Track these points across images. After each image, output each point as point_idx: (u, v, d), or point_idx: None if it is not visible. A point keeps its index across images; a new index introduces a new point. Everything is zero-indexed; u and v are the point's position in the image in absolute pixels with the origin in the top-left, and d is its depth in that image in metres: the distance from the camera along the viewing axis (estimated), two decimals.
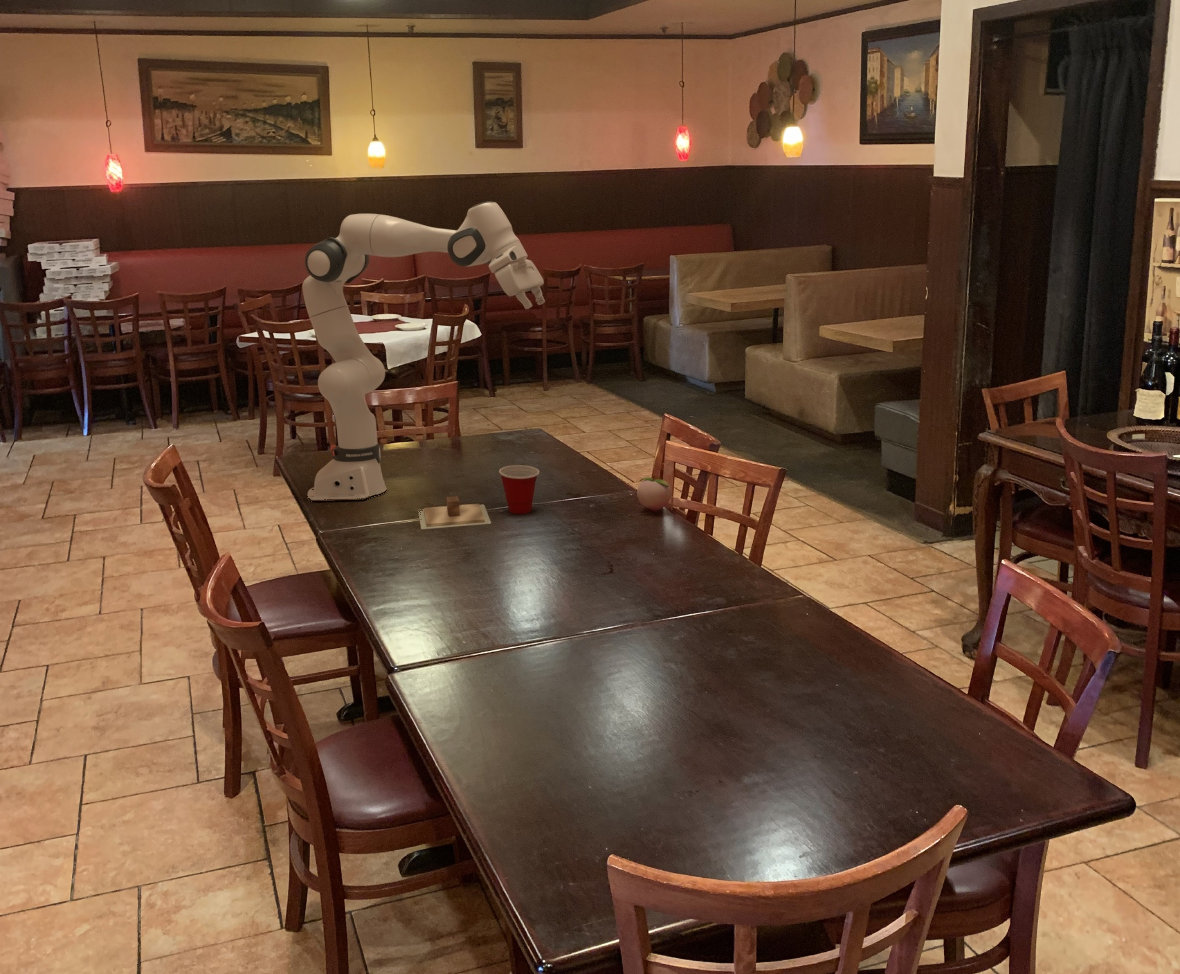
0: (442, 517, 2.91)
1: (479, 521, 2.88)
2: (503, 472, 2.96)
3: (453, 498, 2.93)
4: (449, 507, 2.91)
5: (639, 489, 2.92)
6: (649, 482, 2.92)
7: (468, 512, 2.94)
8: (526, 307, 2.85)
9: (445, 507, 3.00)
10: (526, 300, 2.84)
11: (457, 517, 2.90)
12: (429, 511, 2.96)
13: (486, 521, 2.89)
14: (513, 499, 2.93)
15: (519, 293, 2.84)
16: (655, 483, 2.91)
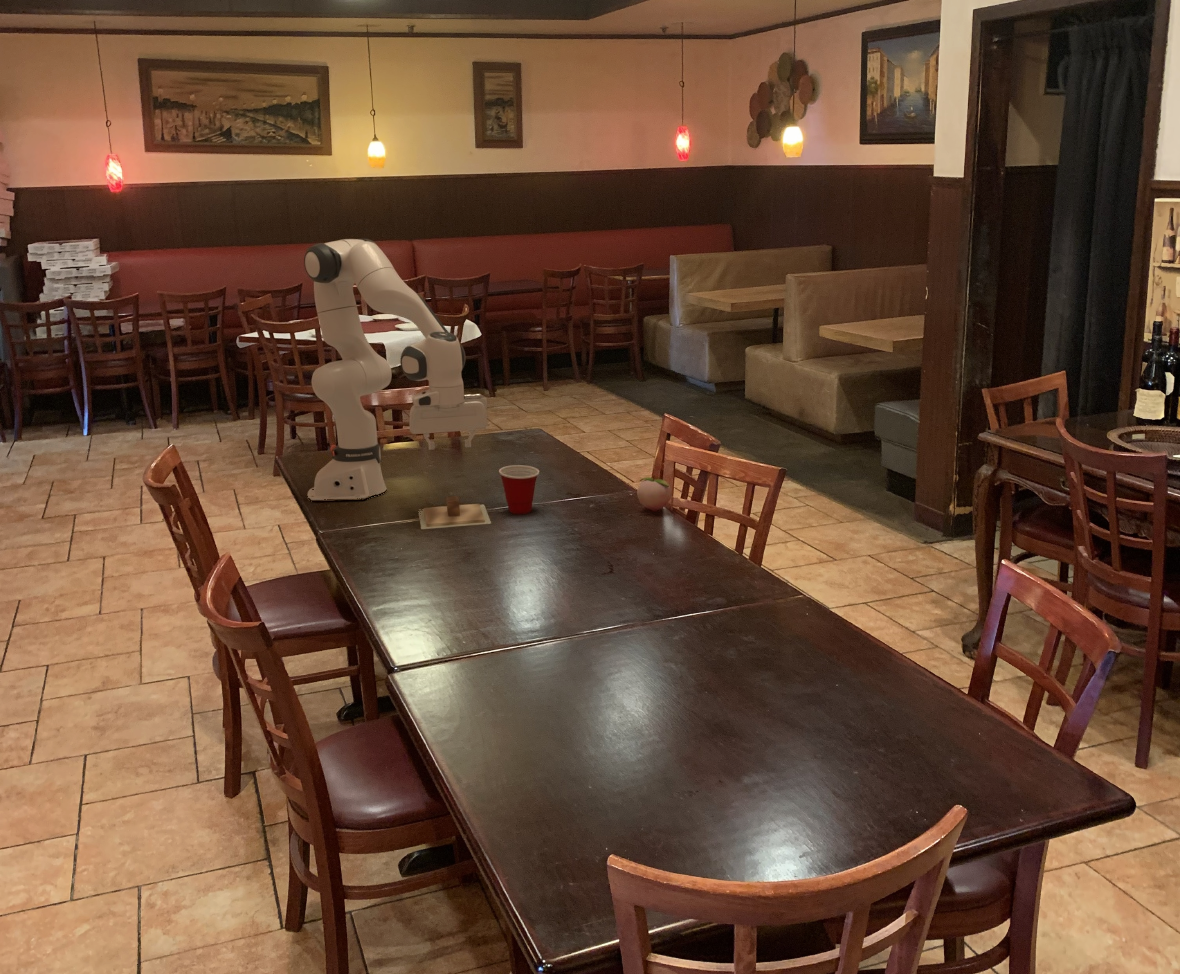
0: (442, 517, 2.91)
1: (479, 521, 2.88)
2: (503, 472, 2.96)
3: (453, 498, 2.93)
4: (449, 507, 2.91)
5: (639, 489, 2.92)
6: (649, 482, 2.92)
7: (468, 512, 2.94)
8: None
9: (445, 507, 3.00)
10: (428, 442, 2.87)
11: (457, 517, 2.90)
12: (429, 511, 2.96)
13: (486, 521, 2.89)
14: (513, 499, 2.93)
15: None
16: (655, 483, 2.91)
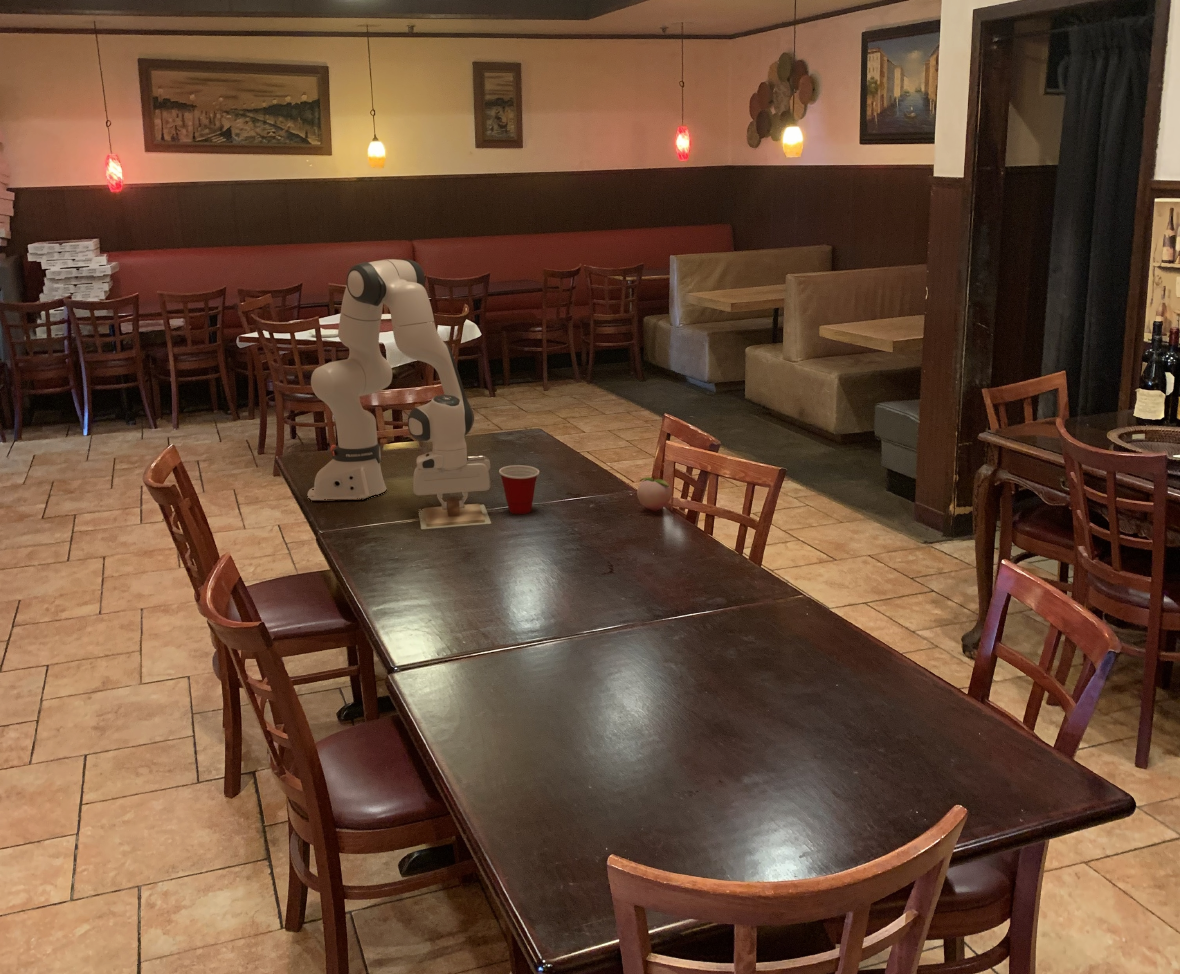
0: (442, 517, 2.91)
1: (479, 521, 2.88)
2: (503, 472, 2.96)
3: (453, 498, 2.93)
4: (449, 507, 2.91)
5: (639, 489, 2.92)
6: (649, 482, 2.92)
7: (468, 512, 2.94)
8: None
9: None
10: (441, 502, 2.92)
11: (457, 517, 2.90)
12: (429, 511, 2.96)
13: (486, 521, 2.89)
14: (513, 499, 2.93)
15: (437, 494, 2.91)
16: (655, 483, 2.91)
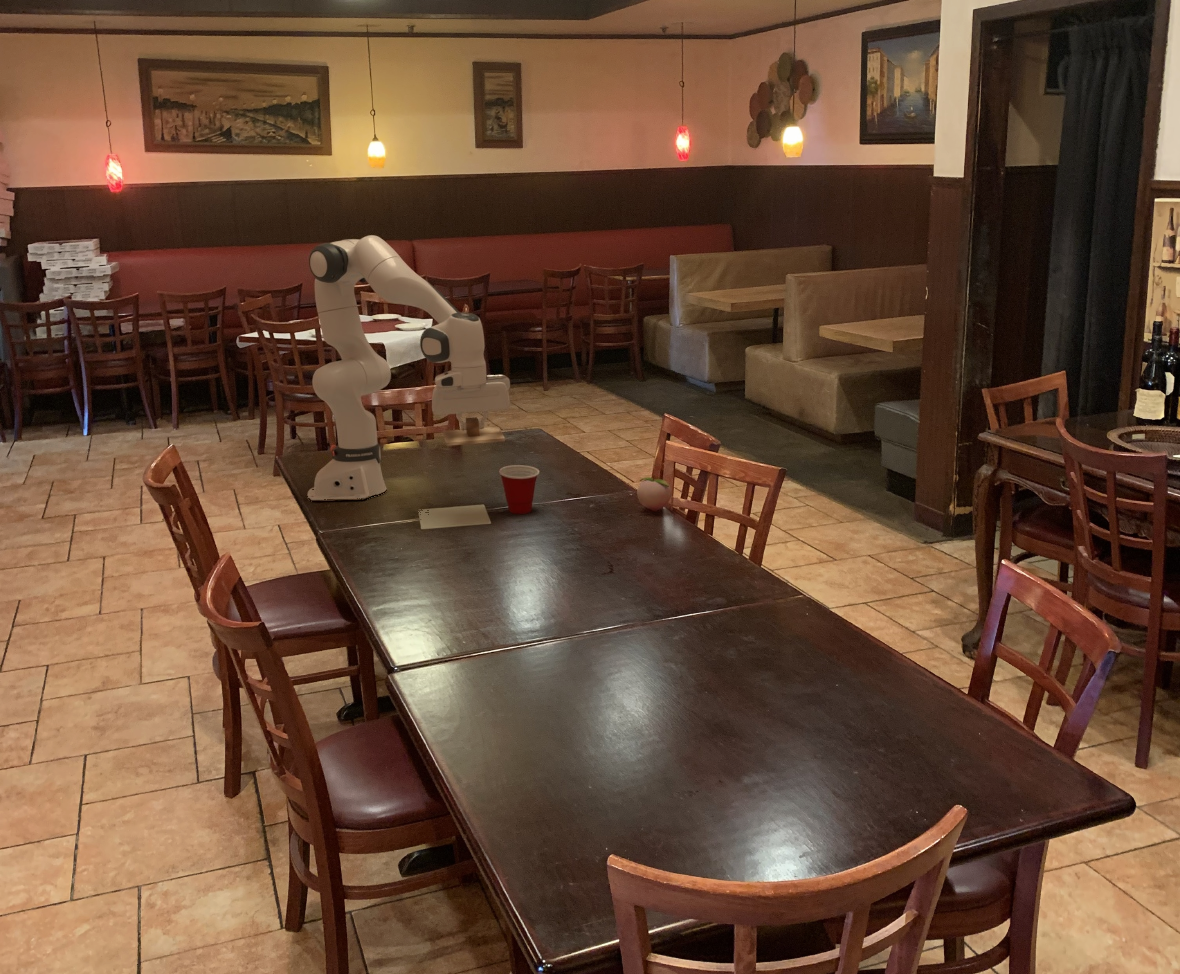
0: (461, 437, 2.86)
1: (499, 440, 2.83)
2: (503, 472, 2.96)
3: (472, 419, 2.88)
4: (468, 427, 2.86)
5: (639, 489, 2.92)
6: (649, 482, 2.92)
7: (488, 433, 2.89)
8: (461, 428, 2.88)
9: (464, 430, 2.95)
10: None
11: (477, 437, 2.85)
12: (449, 433, 2.91)
13: (486, 521, 2.89)
14: (513, 499, 2.93)
15: (456, 414, 2.87)
16: (655, 483, 2.91)
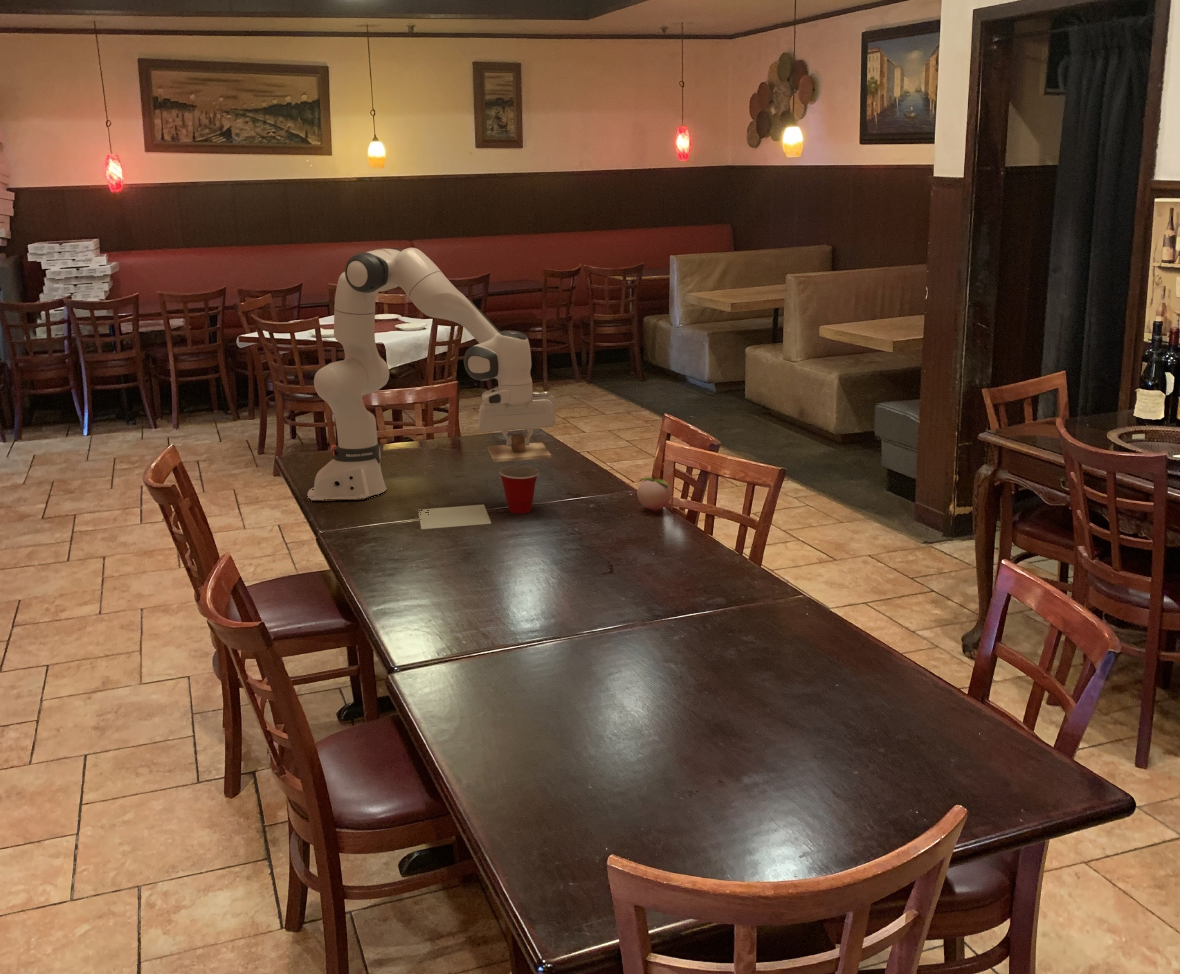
0: (508, 453, 2.90)
1: (545, 457, 2.87)
2: (503, 472, 2.96)
3: (518, 435, 2.92)
4: (515, 443, 2.90)
5: (639, 489, 2.92)
6: (649, 482, 2.92)
7: (533, 449, 2.93)
8: None
9: None
10: (506, 439, 2.91)
11: (523, 453, 2.89)
12: (494, 449, 2.95)
13: (486, 521, 2.89)
14: (513, 499, 2.93)
15: (502, 430, 2.90)
16: (655, 483, 2.91)
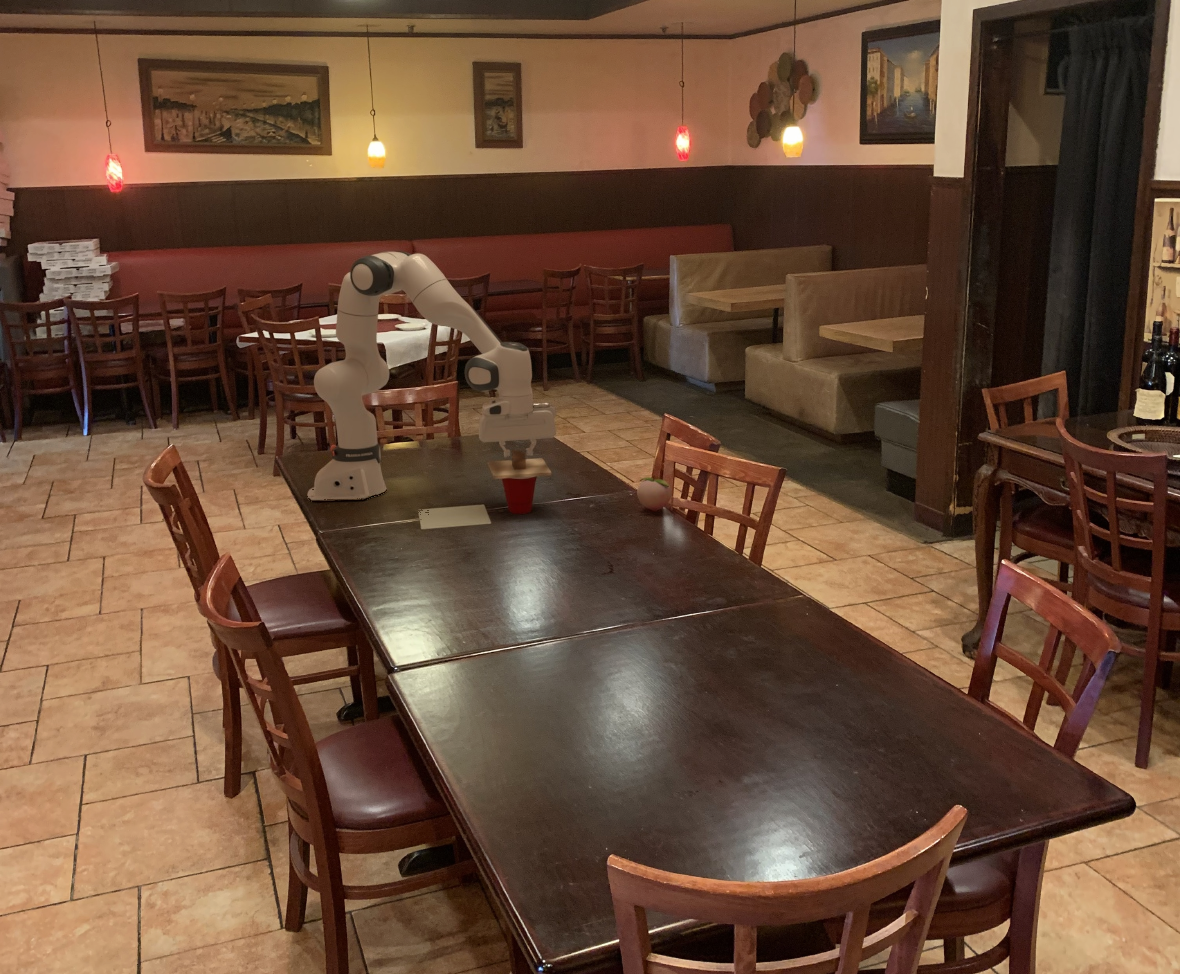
0: (508, 470, 2.91)
1: (546, 474, 2.88)
2: None
3: (519, 451, 2.93)
4: (515, 460, 2.91)
5: (639, 489, 2.92)
6: (649, 482, 2.92)
7: (533, 466, 2.95)
8: (504, 455, 2.93)
9: (509, 461, 3.00)
10: None
11: (523, 470, 2.90)
12: (494, 464, 2.96)
13: (486, 521, 2.89)
14: (513, 499, 2.93)
15: (499, 441, 2.91)
16: (655, 483, 2.91)
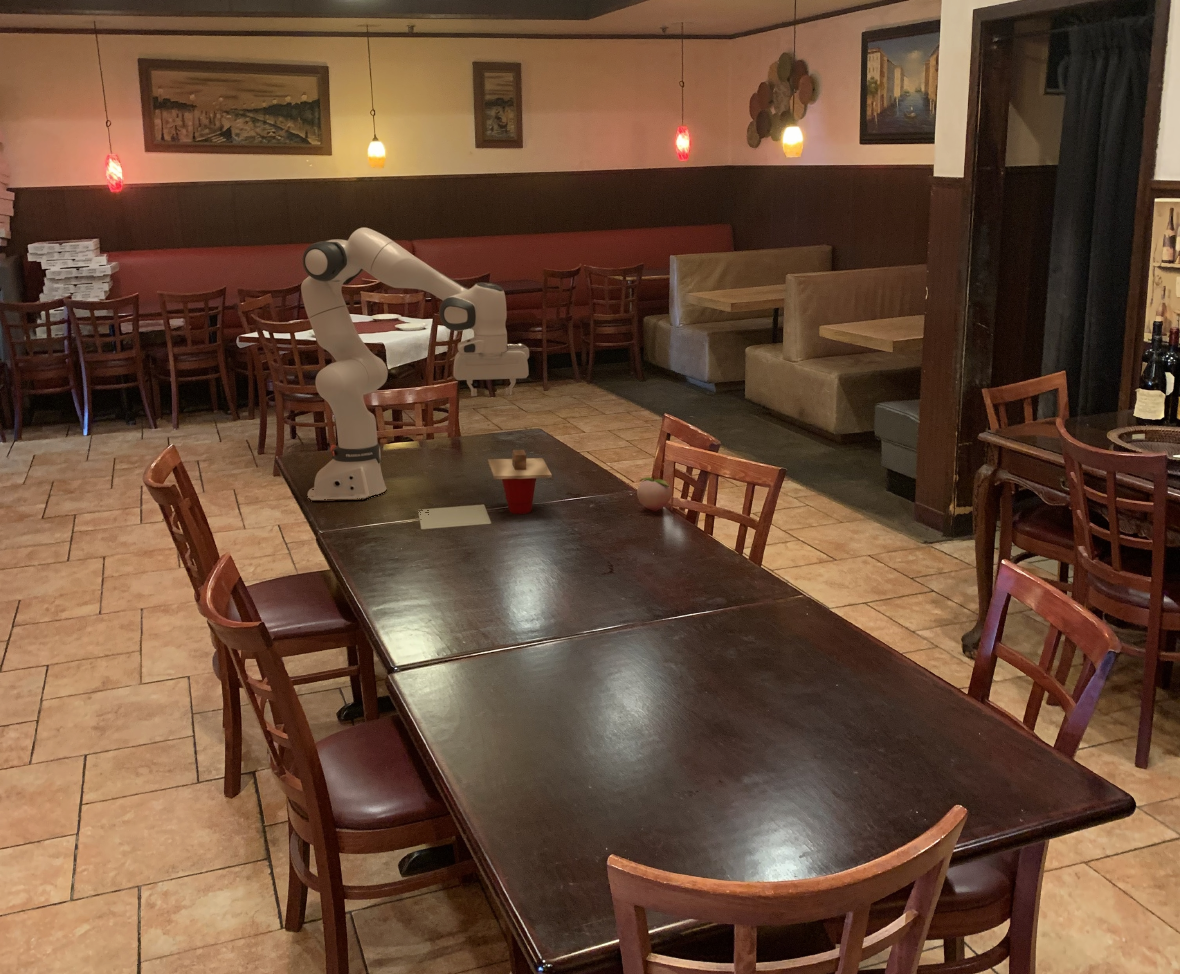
0: (508, 470, 2.91)
1: (546, 476, 2.88)
2: None
3: (520, 451, 2.93)
4: (516, 460, 2.91)
5: (639, 489, 2.92)
6: (649, 482, 2.92)
7: (533, 466, 2.95)
8: (471, 393, 3.00)
9: (509, 460, 2.99)
10: None
11: (523, 471, 2.90)
12: (494, 463, 2.96)
13: (486, 521, 2.89)
14: (513, 499, 2.93)
15: (467, 380, 2.98)
16: (655, 483, 2.91)
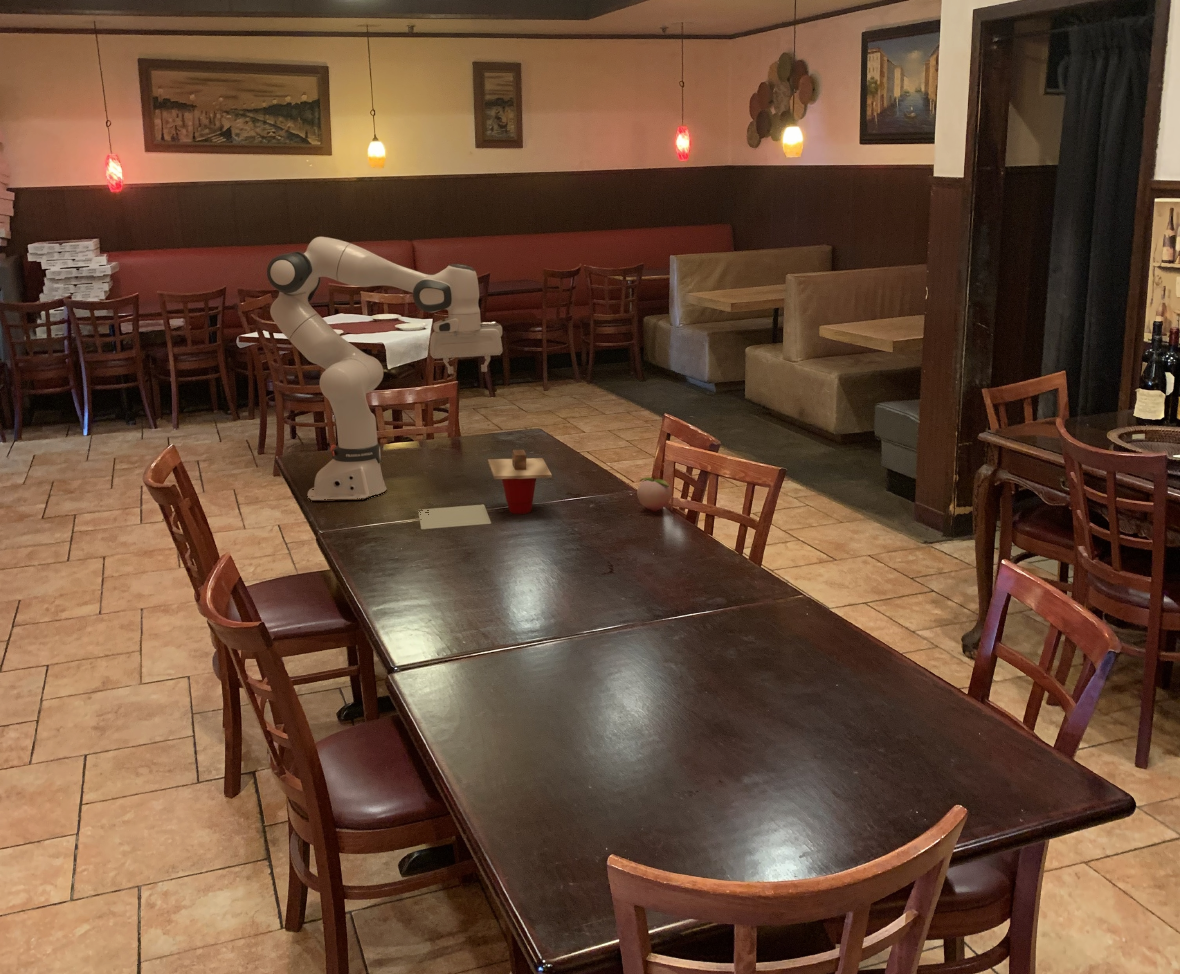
0: (508, 470, 2.91)
1: (546, 476, 2.88)
2: None
3: (520, 451, 2.93)
4: (516, 460, 2.91)
5: (639, 489, 2.92)
6: (649, 482, 2.92)
7: (534, 466, 2.95)
8: None
9: (509, 460, 2.99)
10: None
11: (524, 471, 2.90)
12: (495, 463, 2.96)
13: (486, 521, 2.89)
14: (513, 499, 2.93)
15: (443, 358, 3.10)
16: (655, 483, 2.91)
